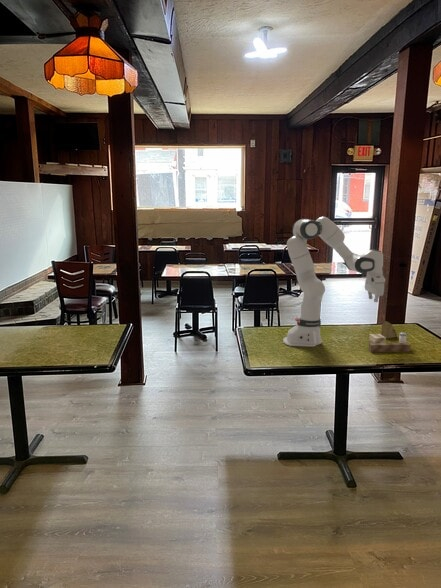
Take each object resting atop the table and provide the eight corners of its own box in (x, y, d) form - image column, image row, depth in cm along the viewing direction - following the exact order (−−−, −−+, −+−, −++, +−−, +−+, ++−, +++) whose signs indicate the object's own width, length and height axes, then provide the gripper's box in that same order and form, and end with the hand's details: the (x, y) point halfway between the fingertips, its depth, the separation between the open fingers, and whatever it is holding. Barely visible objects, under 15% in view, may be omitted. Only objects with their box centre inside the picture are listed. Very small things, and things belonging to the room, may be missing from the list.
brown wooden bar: (370, 352, 236) (371, 345, 235) (368, 350, 239) (369, 343, 238) (410, 351, 237) (410, 344, 236) (407, 349, 240) (408, 342, 239)
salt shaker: (400, 348, 243) (401, 334, 241) (397, 345, 246) (398, 332, 245) (406, 347, 243) (408, 334, 241) (403, 345, 247) (404, 332, 245)
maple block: (375, 346, 246) (375, 338, 245) (369, 342, 254) (369, 334, 253) (385, 346, 247) (385, 337, 246) (378, 341, 254) (379, 333, 253)
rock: (396, 331, 267) (379, 328, 269) (400, 322, 260) (383, 319, 263) (396, 345, 260) (379, 342, 262) (400, 337, 254) (382, 333, 256)
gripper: (362, 274, 262) (361, 296, 265) (375, 280, 242) (374, 304, 245) (372, 274, 263) (371, 296, 265) (386, 280, 243) (385, 304, 245)
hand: (373, 300), depth 255 cm, fingers open, 7 cm apart
